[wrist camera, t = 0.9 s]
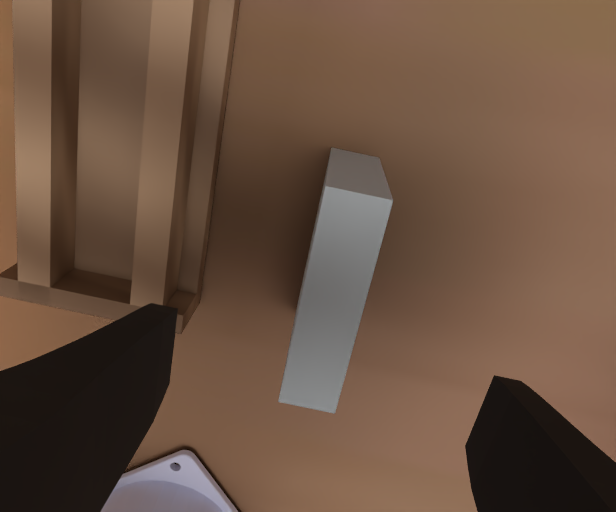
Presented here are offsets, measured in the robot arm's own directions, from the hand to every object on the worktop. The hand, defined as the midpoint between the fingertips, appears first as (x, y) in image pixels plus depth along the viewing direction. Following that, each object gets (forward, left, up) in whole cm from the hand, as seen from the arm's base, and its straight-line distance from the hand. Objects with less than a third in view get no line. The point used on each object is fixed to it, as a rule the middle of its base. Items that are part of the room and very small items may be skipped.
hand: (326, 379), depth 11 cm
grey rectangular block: (0, 0, -9) cm, 9 cm away
